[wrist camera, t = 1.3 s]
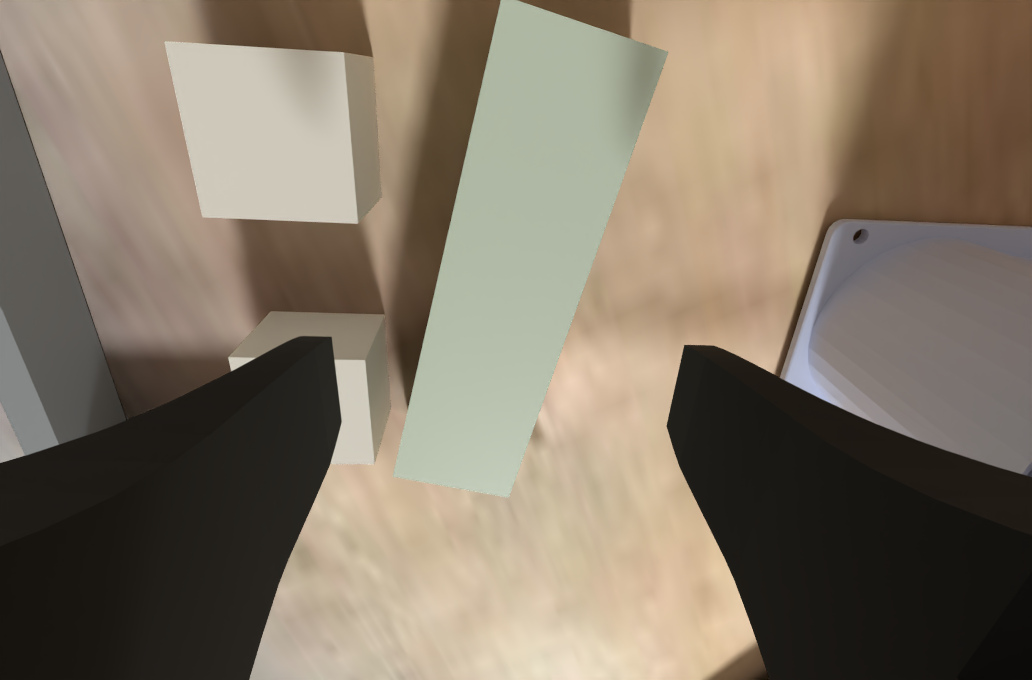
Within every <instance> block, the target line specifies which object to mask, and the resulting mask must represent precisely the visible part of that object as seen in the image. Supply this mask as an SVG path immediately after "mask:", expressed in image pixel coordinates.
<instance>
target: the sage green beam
mask: <svg viewBox="0 0 1032 680" xmlns="http://www.w3.org/2000/svg"><path fill="white" fill-rule="evenodd" d="M667 55H668V52H667V51H664V50H662V49H659V48H656V47H653V46H650V45H647V44H644V43H641V42H638V41H635V40H632V39H629V38H626V37H623V36H620V35H617V34H615V33H612V32H609V31H606V30H603V29H600V28H597V27H594V26H591V25H588V24H585V23H582V22H579V21H576V20H573V19H571V18H568V17H565V16H562V15H559V14H556V13H553V12H550V11H547V10H544V9H541V8H538V7H535V6H532V5H529V4H526V3H524V2H521V1H518V0H501V2H500V6H499V11H498V15H497V20H496V24H495V28H494V33H493V37H492V42H491V46H490V50H489V55H488V59H487V64H486V68H485V72H484V77H483V81H482V86H481V90H480V94H479V99H478V103H477V108H476V112H475V116H474V121H473V125H472V130H471V134H470V138H469V143H468V147H467V152H466V156H465V161H464V165H463V169H462V174H461V178H460V183H459V187H458V191H457V196H456V200H455V205H454V209H453V213H452V218H451V222H450V227H449V231H448V235H447V240H446V244H445V249H444V253H443V257H442V262H441V266H440V271H439V275H438V280H437V284H436V288H435V293H434V297H433V302H432V306H431V310H430V315H429V319H428V324H427V328H426V332H425V337H424V341H423V346H422V350H421V354H420V359H419V363H418V368H417V372H416V376H415V381H414V385H413V390H412V394H411V398H410V403H409V407H408V412H407V416H406V421H405V425H404V429H403V434H402V438H401V443H400V447H399V451H398V456H397V460H396V465H395V469H394V473H393V477H397V478H403V479H408V480H414V481H419V482H425V483H430V484H436V485H441V486H447V487H452V488H458V489H463V490H469V491H474V492H480V493H485V494H491V495H496V496H502V497H508V498H509V495H510V493H511V490H512V487H513V484H514V481H515V479H516V476H517V473H518V470H519V467H520V465H521V462H522V459H523V456H524V454H525V451H526V448H527V445H528V442H529V440H530V437H531V434H532V431H533V428H534V426H535V423H536V420H537V417H538V414H539V412H540V409H541V406H542V403H543V401H544V398H545V395H546V392H547V389H548V387H549V384H550V381H551V378H552V375H553V373H554V370H555V367H556V364H557V361H558V359H559V356H560V353H561V350H562V348H563V345H564V342H565V339H566V336H567V334H568V331H569V328H570V325H571V322H572V320H573V317H574V314H575V311H576V308H577V306H578V303H579V300H580V297H581V295H582V292H583V289H584V286H585V283H586V281H587V278H588V275H589V272H590V269H591V267H592V264H593V261H594V258H595V255H596V253H597V250H598V247H599V244H600V242H601V239H602V236H603V233H604V230H605V228H606V225H607V222H608V219H609V216H610V214H611V211H612V208H613V205H614V202H615V200H616V197H617V194H618V191H619V189H620V186H621V183H622V180H623V177H624V175H625V172H626V169H627V166H628V163H629V161H630V158H631V155H632V152H633V149H634V147H635V144H636V141H637V138H638V136H639V133H640V130H641V127H642V124H643V122H644V119H645V116H646V113H647V110H648V108H649V105H650V102H651V99H652V96H653V94H654V91H655V88H656V85H657V83H658V80H659V77H660V74H661V71H662V69H663V66H664V63H665V60H666V57H667Z"/></svg>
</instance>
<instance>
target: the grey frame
mask: <svg viewBox="0 0 1032 680" xmlns="http://www.w3.org/2000/svg"><path fill="white" fill-rule="evenodd" d="M0 402H1V404H2V406H3V409H4V411H5V413H6V415H7V417H8V419H9V421H10V424H11V426H12V428H13V430H14V432H15V434H16V437H17V439H18V441H19V443H20V445H21V447H22V449H23V452H24V454H25V456H26V455H29V454H32V453H35V452H38V451H41V450H44V449H47V448H50V447H53V446H56V445H59V444H62V443H65V442H68V441H71V440H74V439H77V438H80V437H83V436H86V435H89V434H92V433H95V432H98V431H100V430H103V429H106V428H108V427H111V426H113V425H116V424H119V423H121V422H124V421H126V418H125V415H124V412H123V409H122V406H121V403H120V400H119V397H118V394H117V391H116V388H115V385H114V383H113V380H112V377H111V374H110V371H109V368H108V365H107V362H106V359H105V356H104V353H103V350H102V348H101V345H100V342H99V339H98V336H97V333H96V330H95V327H94V324H93V321H92V318H91V315H90V313H89V310H88V307H87V304H86V301H85V298H84V295H83V292H82V289H81V286H80V283H79V280H78V277H77V275H76V272H75V269H74V266H73V263H72V260H71V257H70V254H69V251H68V248H67V245H66V242H65V240H64V237H63V234H62V231H61V228H60V225H59V222H58V219H57V216H56V213H55V210H54V207H53V205H52V202H51V199H50V196H49V193H48V190H47V187H46V184H45V181H44V178H43V175H42V172H41V169H40V167H39V164H38V161H37V158H36V155H35V152H34V149H33V146H32V143H31V140H30V137H29V134H28V132H27V129H26V126H25V123H24V120H23V117H22V114H21V111H20V108H19V105H18V102H17V99H16V97H15V94H14V91H13V88H12V85H11V82H10V79H9V76H8V73H7V70H6V67H5V64H4V61H3V59H2V56H1V53H0Z"/></svg>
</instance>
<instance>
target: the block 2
mask: <svg viewBox="0 0 1032 680" xmlns="http://www.w3.org/2000/svg"><path fill="white" fill-rule="evenodd" d="M299 336H324V337H332V343H333V352H334V360H335V369H336V377H337V385H338V394H339V402H340V411H341V419H342V423H341V427H340V431H339V435H338V438H337V442H336V446H335V449H334V453H333V456H332V460H331V463H330V464H375V461H376V458H377V454H378V451H379V447H380V444H381V441H382V437H383V434H384V430H385V427H386V423H387V420H388V417H389V413H390V410H391V397H390V382H389V367H388V352H387V337H386V322H385V314H349V313H313V312H277V311H270V313H269V314H268V315H267V316H266V317H265V318H264V319H263V320H262V321H261V322H260V323H259V324H258V325H257V327H256V328H255V329H254V330H253V331H252V332H251V333H250V334H249V335H248V336H247V337H246V338H245V340H244V341H243V342H242V343H241V344H240V345H239V346H238V347H237V348H236V349H235V350H234V351H233V352H232V354H231V355H230V356H229V357H228V359H229V364H230V368H231V371H233V370H235V369H237V368H238V367H240V366H242V365H244V364H246V363H248V362H249V361H251V360H253V359H255V358H257V357H259V356H261V355H262V354H264V353H266V352H268V351H270V350H272V349H273V348H275V347H277V346H279V345H281V344H283V343H285V342H287V341H289V340H291V339H294V338H296V337H299Z"/></svg>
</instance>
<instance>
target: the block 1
mask: <svg viewBox="0 0 1032 680" xmlns="http://www.w3.org/2000/svg"><path fill="white" fill-rule="evenodd" d="M164 42H165V47H166V52H167V56H168V61H169V65H170V70H171V75H172V79H173V84H174V88H175V93H176V98H177V102H178V107H179V112H180V116H181V121H182V125H183V130H184V135H185V139H186V144H187V148H188V153H189V158H190V162H191V167H192V172H193V176H194V181H195V185H196V190H197V195H198V199H199V204H200V208H201V213H202V217H209V218H233V219H257V220H281V221H305V222H329V223H353V224H358V223H359V222H360V221H361V220H362V219H363V218H364V217H365V215H366V214H367V213H368V212H369V211H370V210H371V209H372V208H373V207H374V205H375V204H376V203H377V202H378V201H379V200H380V199H381V198H382V192H381V176H380V159H379V143H378V126H377V110H376V93H375V77H374V60H373V57H369V56H363V55H357V54H351V53H345V52H330V51H314V50H297V49H281V48H265V47H249V46H232V45H216V44H200V43H184V42H168V41H164Z"/></svg>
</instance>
